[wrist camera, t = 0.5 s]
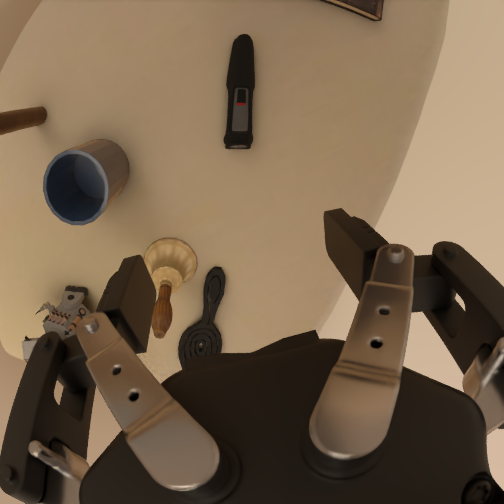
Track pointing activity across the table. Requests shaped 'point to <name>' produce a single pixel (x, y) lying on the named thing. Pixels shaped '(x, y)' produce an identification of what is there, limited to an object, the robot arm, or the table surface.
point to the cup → (85, 181)
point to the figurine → (61, 317)
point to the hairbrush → (205, 321)
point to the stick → (21, 119)
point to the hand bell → (168, 277)
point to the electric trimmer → (240, 94)
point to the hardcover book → (361, 7)
